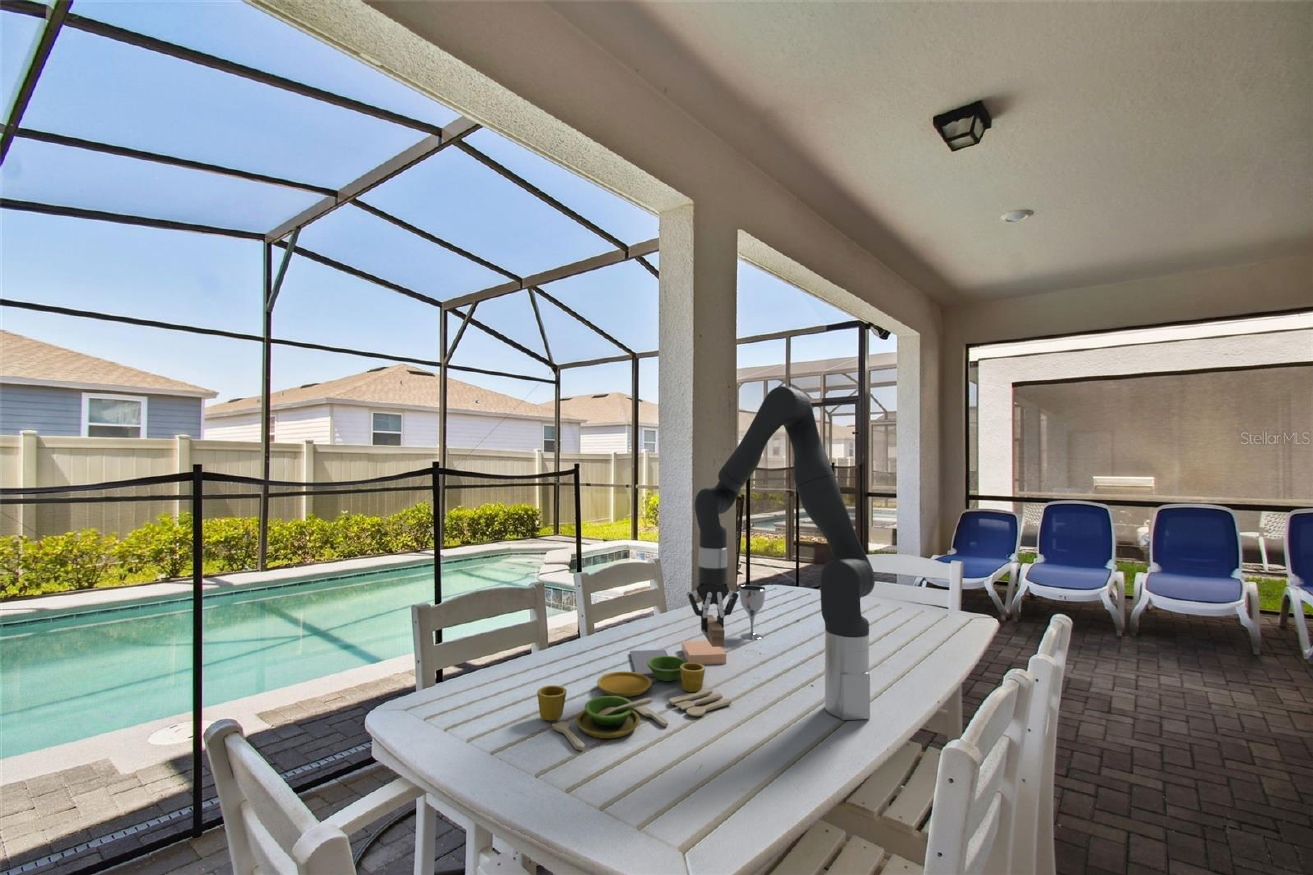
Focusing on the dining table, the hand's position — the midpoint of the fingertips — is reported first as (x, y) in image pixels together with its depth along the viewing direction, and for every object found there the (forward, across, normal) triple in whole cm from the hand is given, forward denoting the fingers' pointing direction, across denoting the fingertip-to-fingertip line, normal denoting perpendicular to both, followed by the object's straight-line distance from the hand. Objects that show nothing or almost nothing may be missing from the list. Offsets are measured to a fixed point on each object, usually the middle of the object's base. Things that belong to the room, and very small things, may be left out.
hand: (712, 631), depth 153 cm
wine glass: (+10, +19, +28) cm, 35 cm away
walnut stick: (+2, 0, 0) cm, 2 cm away
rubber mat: (+10, -15, +6) cm, 19 cm away
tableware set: (+10, -23, -19) cm, 31 cm away
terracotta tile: (+9, 0, +5) cm, 10 cm away
